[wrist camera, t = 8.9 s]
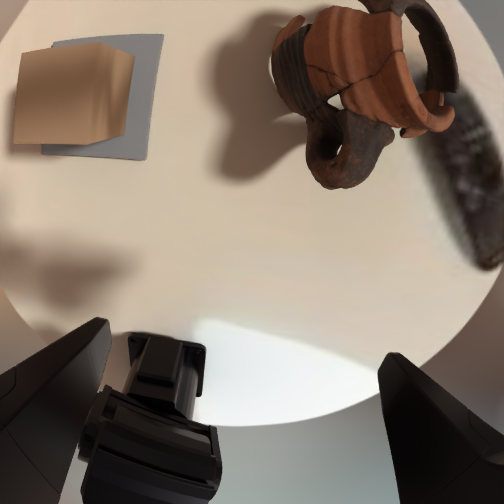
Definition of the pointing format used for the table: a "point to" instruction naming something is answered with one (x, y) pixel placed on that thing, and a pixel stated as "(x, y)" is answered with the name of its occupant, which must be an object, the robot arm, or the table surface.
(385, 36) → the pottery mug
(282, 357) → the table surface
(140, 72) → the felt coaster
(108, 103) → the walnut block
